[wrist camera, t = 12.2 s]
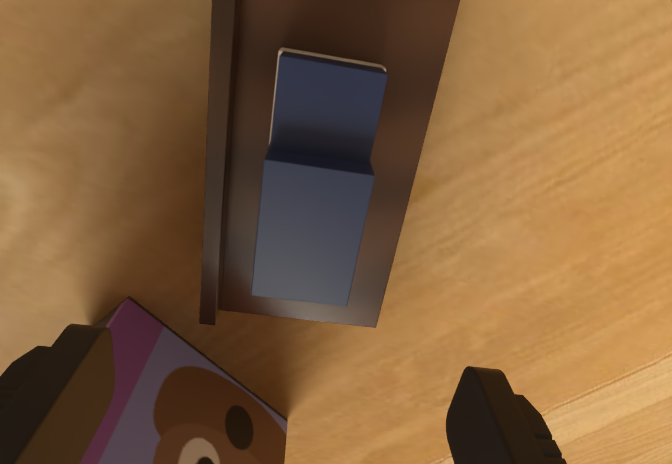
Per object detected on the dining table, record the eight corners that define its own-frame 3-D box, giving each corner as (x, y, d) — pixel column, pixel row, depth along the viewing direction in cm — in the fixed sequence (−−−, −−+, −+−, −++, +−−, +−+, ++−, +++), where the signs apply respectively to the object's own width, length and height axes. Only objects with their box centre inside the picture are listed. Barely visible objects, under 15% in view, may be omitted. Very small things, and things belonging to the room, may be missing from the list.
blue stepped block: (280, 47, 22) (270, 57, 17) (382, 64, 22) (398, 79, 18) (258, 261, 27) (246, 312, 22) (341, 271, 27) (345, 323, 23)
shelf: (239, -53, 24) (214, -71, 18) (439, -14, 25) (475, -19, 19) (220, 267, 33) (198, 323, 27) (368, 285, 34) (378, 343, 28)
